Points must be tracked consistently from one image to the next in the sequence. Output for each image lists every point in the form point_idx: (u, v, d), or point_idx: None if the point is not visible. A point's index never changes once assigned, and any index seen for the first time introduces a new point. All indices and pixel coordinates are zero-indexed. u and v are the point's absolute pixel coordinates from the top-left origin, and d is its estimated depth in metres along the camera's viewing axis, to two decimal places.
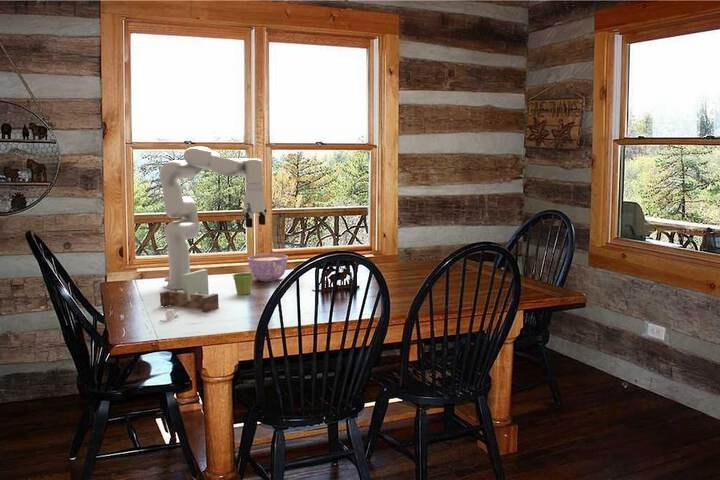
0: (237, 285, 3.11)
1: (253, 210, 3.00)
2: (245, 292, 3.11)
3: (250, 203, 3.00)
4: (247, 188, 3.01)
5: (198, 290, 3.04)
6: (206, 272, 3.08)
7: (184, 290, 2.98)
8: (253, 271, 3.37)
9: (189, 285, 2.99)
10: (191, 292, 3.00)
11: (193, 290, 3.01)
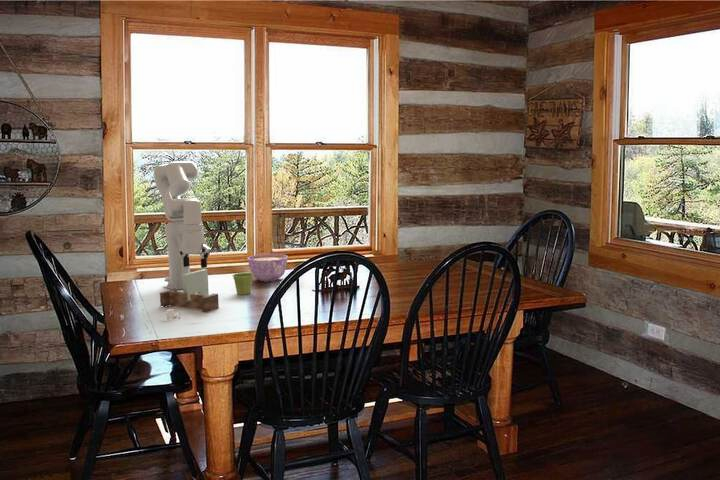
0: (237, 285, 3.11)
1: None
2: (245, 292, 3.11)
3: (204, 242, 3.00)
4: (197, 229, 2.98)
5: (198, 290, 3.04)
6: (206, 272, 3.08)
7: (184, 290, 2.98)
8: (253, 271, 3.37)
9: (189, 285, 2.99)
10: (191, 292, 3.00)
11: (193, 290, 3.01)
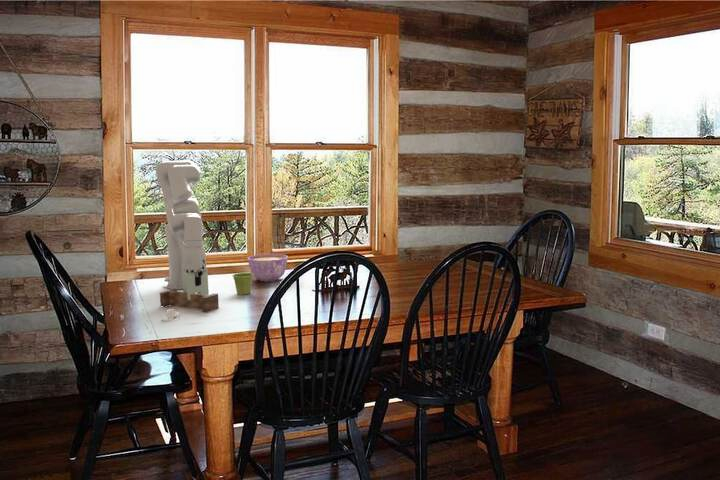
0: (237, 285, 3.11)
1: None
2: (245, 292, 3.11)
3: (205, 258, 3.01)
4: (198, 245, 2.99)
5: (198, 290, 3.04)
6: (206, 272, 3.08)
7: (184, 290, 2.98)
8: (253, 271, 3.37)
9: (189, 285, 2.99)
10: (191, 292, 3.00)
11: (193, 290, 3.01)
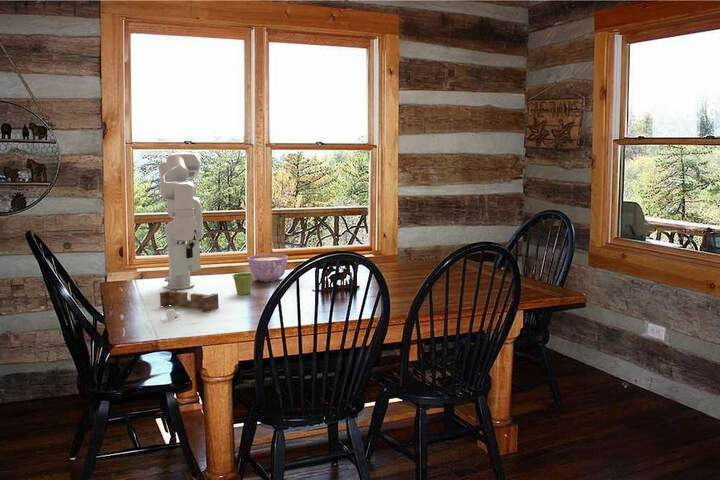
0: (237, 285, 3.11)
1: None
2: (245, 292, 3.11)
3: (196, 229, 2.83)
4: (189, 214, 2.81)
5: (189, 263, 2.86)
6: (197, 244, 2.90)
7: (174, 262, 2.80)
8: (253, 271, 3.37)
9: (180, 257, 2.81)
10: (182, 265, 2.82)
11: (184, 262, 2.83)
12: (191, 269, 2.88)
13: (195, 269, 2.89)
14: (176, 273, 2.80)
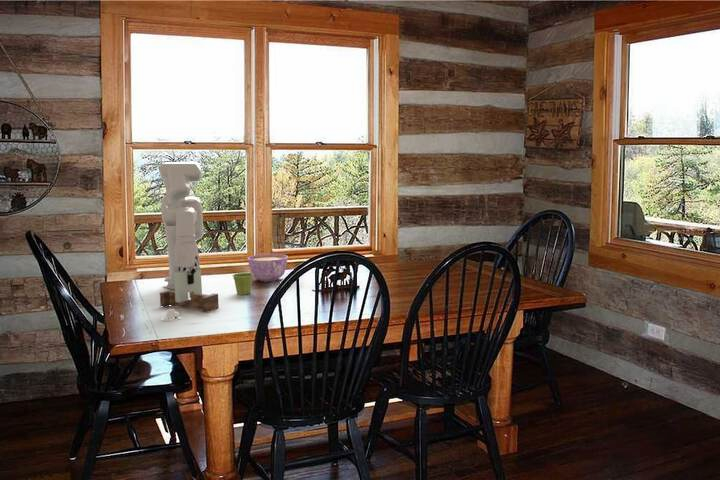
0: (237, 285, 3.11)
1: None
2: (245, 292, 3.11)
3: (198, 255, 2.84)
4: (190, 241, 2.82)
5: (191, 289, 2.87)
6: (199, 270, 2.91)
7: (176, 289, 2.81)
8: (253, 271, 3.37)
9: (181, 284, 2.82)
10: (183, 292, 2.83)
11: (186, 289, 2.85)
12: None
13: None
14: (177, 300, 2.82)
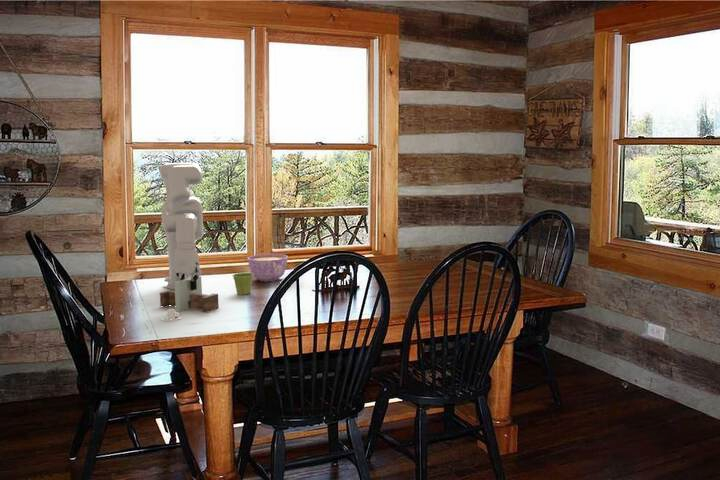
0: (237, 285, 3.11)
1: None
2: (245, 292, 3.11)
3: (198, 261, 2.85)
4: (191, 247, 2.83)
5: None
6: (199, 279, 2.92)
7: (176, 298, 2.82)
8: (253, 271, 3.37)
9: (182, 293, 2.83)
10: (183, 300, 2.84)
11: (186, 298, 2.85)
12: None
13: None
14: (178, 309, 2.82)
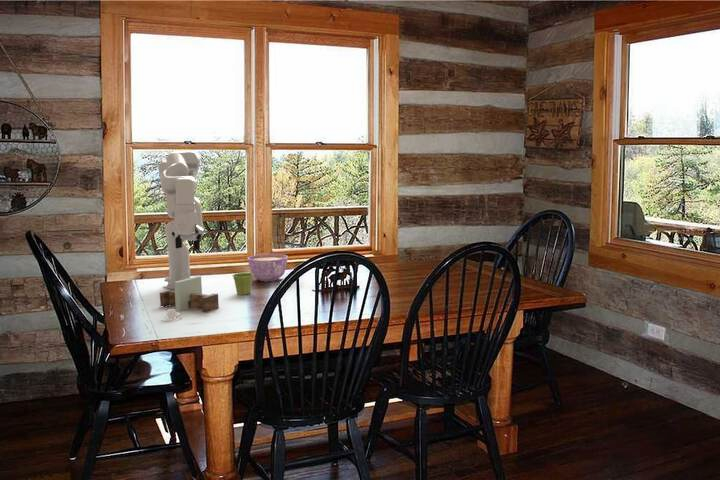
0: (237, 285, 3.11)
1: None
2: (245, 292, 3.11)
3: (197, 223, 2.86)
4: (190, 209, 2.83)
5: None
6: (199, 279, 2.92)
7: (176, 298, 2.82)
8: (253, 271, 3.37)
9: (182, 293, 2.83)
10: (183, 300, 2.84)
11: (186, 298, 2.85)
12: None
13: None
14: (178, 309, 2.82)
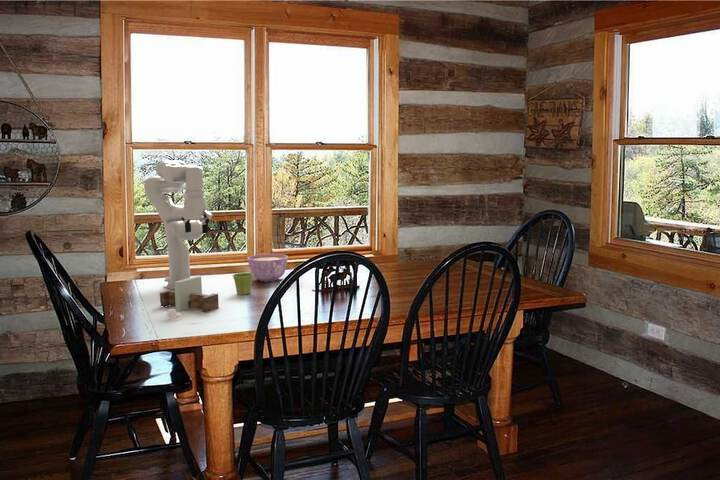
0: (237, 285, 3.11)
1: None
2: (245, 292, 3.11)
3: (206, 209, 3.06)
4: (199, 195, 3.04)
5: None
6: (199, 279, 2.92)
7: (176, 298, 2.82)
8: (253, 271, 3.37)
9: (182, 293, 2.83)
10: (183, 300, 2.84)
11: (186, 298, 2.85)
12: None
13: None
14: (178, 309, 2.82)
